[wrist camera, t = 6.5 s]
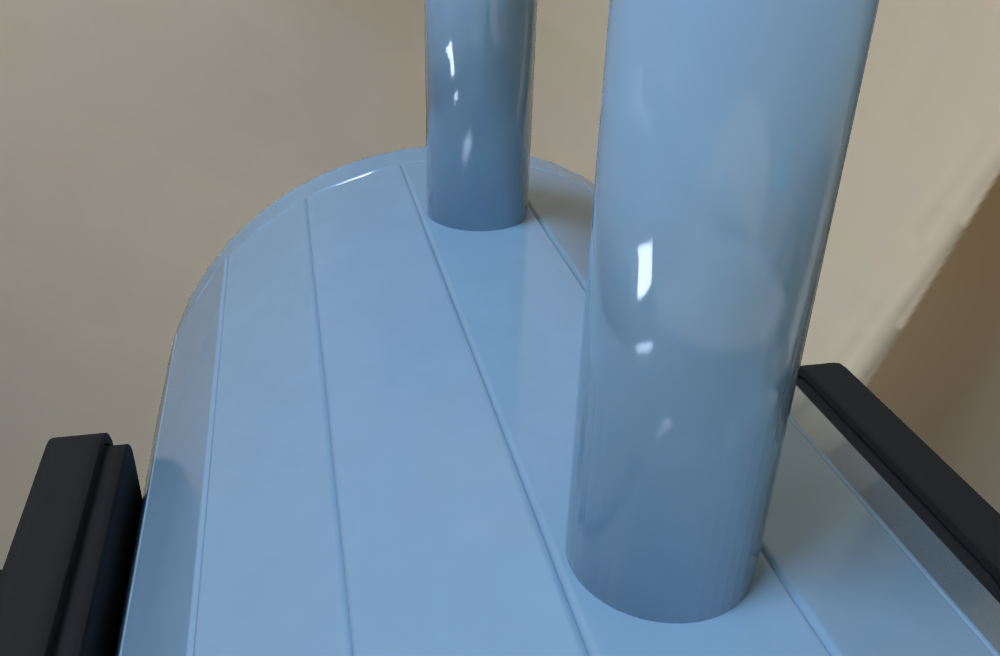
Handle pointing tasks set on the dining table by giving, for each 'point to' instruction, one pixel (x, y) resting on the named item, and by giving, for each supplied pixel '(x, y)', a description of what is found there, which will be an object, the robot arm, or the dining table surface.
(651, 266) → the blue mug
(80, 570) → the robot arm
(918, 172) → the dining table surface
